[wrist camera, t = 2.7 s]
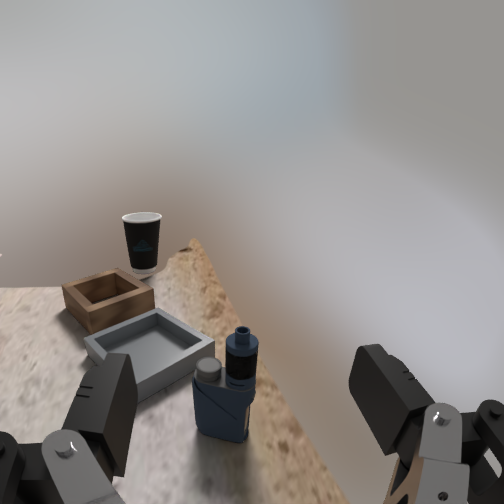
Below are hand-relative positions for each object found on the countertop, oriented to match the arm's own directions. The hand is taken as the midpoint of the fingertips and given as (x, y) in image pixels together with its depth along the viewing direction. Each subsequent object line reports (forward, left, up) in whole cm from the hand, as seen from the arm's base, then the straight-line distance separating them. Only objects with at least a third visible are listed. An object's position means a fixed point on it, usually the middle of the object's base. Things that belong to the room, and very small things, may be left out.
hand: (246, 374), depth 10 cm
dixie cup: (+25, +46, -17) cm, 55 cm away
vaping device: (+7, +8, -17) cm, 20 cm away
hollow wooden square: (+11, +36, -17) cm, 41 cm away
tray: (+9, +22, -17) cm, 29 cm away
